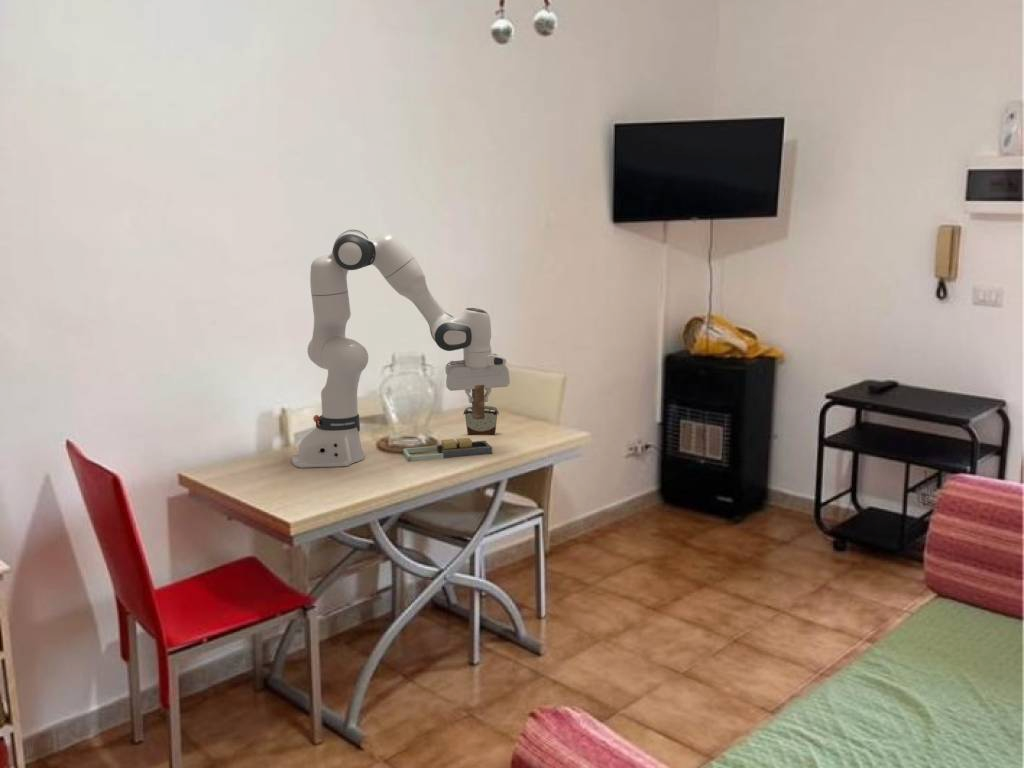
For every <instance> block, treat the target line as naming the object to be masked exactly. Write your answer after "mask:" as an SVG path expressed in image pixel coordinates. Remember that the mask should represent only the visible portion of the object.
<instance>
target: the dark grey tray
mask: <svg viewBox="0 0 1024 768" xmlns="http://www.w3.org/2000/svg"><path fill="white" fill-rule="evenodd" d="M436 446H437V451H436V452H437V453H438V454H440V453H443V457H444V458H443V459H451V458H452V459H455V458H464V457H474V456H486V455H493V446H491V445H490V443H488V442H487V441H486V440H477V441H472V448H462V449H450V450H442V443H440V444H436Z"/></svg>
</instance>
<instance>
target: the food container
mask: <svg viewBox="0 0 1024 768" xmlns="http://www.w3.org/2000/svg"><path fill="white" fill-rule="evenodd" d="M484 407H485V419H474V418H473V417H472V406H468V407H466V408H464V411H463V414H462V415H463V416H465V425H466V433H467V436H496V430H497V420H498V416H500V413H499V409H498V408H497V407H494V406H491V405H490V406H489V405H484Z"/></svg>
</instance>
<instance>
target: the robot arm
mask: <svg viewBox="0 0 1024 768" xmlns="http://www.w3.org/2000/svg"><path fill="white" fill-rule="evenodd" d="M371 265H372V266H374V267H375V268H376V269H377V270H378V271H379V272H380V274H381V275H382V276H383V278H384V280H385V281H386V282H387V283H388V284H389V285H390V287H391V288H392V289H394V291H395V292H397V293H398V295H401V296H402V297H405V298H406V299H408V300H409V301H410V302H411V303H412V304H414V306H415V307H416V309H417V310H418V311H419V312H420V314H421V315H422V316H423V318H424V319H425V320H426V322H427V323H428V327H429V331H430V332H429V333H430V335H431V338H432V339H433V341H434V342H435V343H436V345H437V346H438V348H439V349H441V350H443V351H446V352H451V351H454V352H455V351H457V350H461V349H463V359H462V360H450V361H449V362H447V364H446V365H445V374H446V381H445V387H446V388H447V389H448V391H464V392H465V394H466V396H467V398H468V403H469V404H472V403H474V397H472V389H475V386H476V385H484V391H486V392H484V403H487V402H488V401H489V396H490V394H491V392H492V389H493V388H495V389H496V388H507V387H508V386H509V385H510V382H511V381H510V371H509V368H508V366H507V359H506V358H505V357H504V356H502V355H499V354H496V353H493V352H492V346H491V340H492V339H491V338H492V323H491V317H490V315H489V313H488V312H487V311H485V310H483V309H481V308H478V307H477V308H475V307H468V308H464V310H463V311H461V312H460V313H458V314H456V315H454V316H453V315H451V314H450V313H448V312H446V311H445V310H444V309H443V308H442V307H441V305H440V304H439V302H438V301H437V299H435V297H434V296H433V294H432V292H431V291H430V290H429V287H428V285H427V282H426V276H425V274H424V271H423V269H422V266H421V265H420V264H419V262H418V261H417V260H416V258H415V256H414V255H413V254H412V252H411V251H410V250H409V249H408V248H407V246H405V244H404V243H403V242H402V241H401V240H399V238H397V236H395V234H392V233H382V234H381V235H378V236H376V237H375V238H372V239H370V238H369V237H368V236H367V235H366V234H365V233H364V232H363V231H361V230H357V229H348V230H346V231H343V232H342V233H340V234H339V235H338V237H336V239H335V241H334V243H333V247H332V251H331V253H329V254H328V255H322V256H319V257H317V258H315V259H314V260H313V261H312V262H311V264H310V273H309V274H310V276H309V277H310V283H309V285H310V295H311V300H312V303H311V304H312V309H313V310H312V311H313V331H312V337H311V340H310V342H309V343H308V345H307V357H308V358H309V360H310V361H311V362H312V363H313V364H315V365H316V366H317V367H318V368H321V369H322V370H327V377H326V382H325V385H324V386H323V388H322V389H321V392H320V396H321V397H320V398H321V415H317V414H316V415H314V416H313V418H312V420H313V421H314V423H315V428H314V429H313V430H312V431H311V432H309V433H308V434H307V435H306V436H305V437H303V438H302V439H301V440H300V444H299V446H298V453H295V454H294V455H293V456H292V458H291V463H292V465H293V466H295V467H296V468H300V469H301V468H302V469H303V468H304V469H305V468H326V467H327V468H331V467H348V466H351V465H352V464H354V463H357V462H360V461H362V460H363V459H365V458H366V457H365V454H364V450H363V447H362V443H361V437H360V431H361V418H360V414H359V411H358V389H359V388H358V387H359V382H360V380H361V379H360V378H361V375H362V372H363V371H364V370H365V369H366V368H367V365H368V362H369V353H368V351H367V349H366V348H365V345H364V346H363V344H361V343H360V342H358V341H357V340H356V339H355V340H354V339H351V338H347V337H346V327H347V323H348V321H349V320H350V318H351V315H352V314H351V313H352V312H351V307H350V306H351V304H350V297H349V289H348V282H347V281H348V280H347V275H348V273H349V271H356V270H357V271H358V270H360V269H363V268H365V267H369V266H371Z"/></svg>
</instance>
